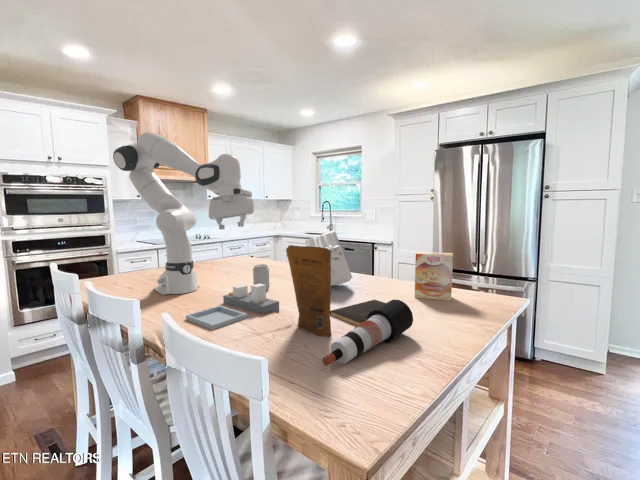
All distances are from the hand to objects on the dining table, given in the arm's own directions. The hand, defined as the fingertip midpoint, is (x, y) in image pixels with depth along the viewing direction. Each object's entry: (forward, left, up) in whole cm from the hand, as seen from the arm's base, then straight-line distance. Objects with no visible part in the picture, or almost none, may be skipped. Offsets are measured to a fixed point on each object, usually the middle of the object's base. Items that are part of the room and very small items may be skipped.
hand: (231, 228), depth 135 cm
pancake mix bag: (+43, -2, -32) cm, 53 cm away
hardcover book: (+49, +23, -32) cm, 63 cm away
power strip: (+9, +1, -32) cm, 33 cm away
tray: (+11, -16, -32) cm, 37 cm away
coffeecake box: (+61, +59, -32) cm, 91 cm away
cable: (+64, -3, -32) cm, 72 cm away
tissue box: (+12, +48, -32) cm, 59 cm away
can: (-9, +23, -32) cm, 41 cm away
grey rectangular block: (+14, +1, -31) cm, 34 cm away
